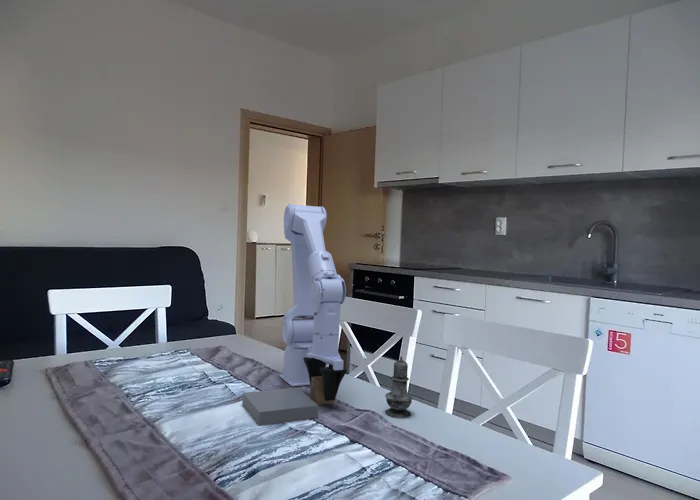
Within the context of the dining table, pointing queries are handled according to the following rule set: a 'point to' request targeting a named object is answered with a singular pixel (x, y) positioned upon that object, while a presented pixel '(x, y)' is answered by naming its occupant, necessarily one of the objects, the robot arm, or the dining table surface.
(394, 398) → the salt shaker
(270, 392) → the slate coaster
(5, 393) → the dining table surface
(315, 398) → the walnut block
